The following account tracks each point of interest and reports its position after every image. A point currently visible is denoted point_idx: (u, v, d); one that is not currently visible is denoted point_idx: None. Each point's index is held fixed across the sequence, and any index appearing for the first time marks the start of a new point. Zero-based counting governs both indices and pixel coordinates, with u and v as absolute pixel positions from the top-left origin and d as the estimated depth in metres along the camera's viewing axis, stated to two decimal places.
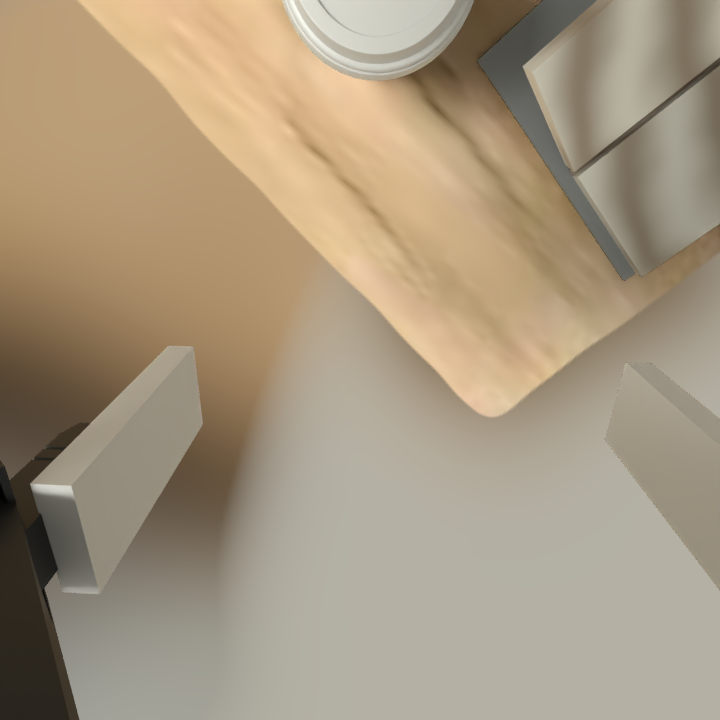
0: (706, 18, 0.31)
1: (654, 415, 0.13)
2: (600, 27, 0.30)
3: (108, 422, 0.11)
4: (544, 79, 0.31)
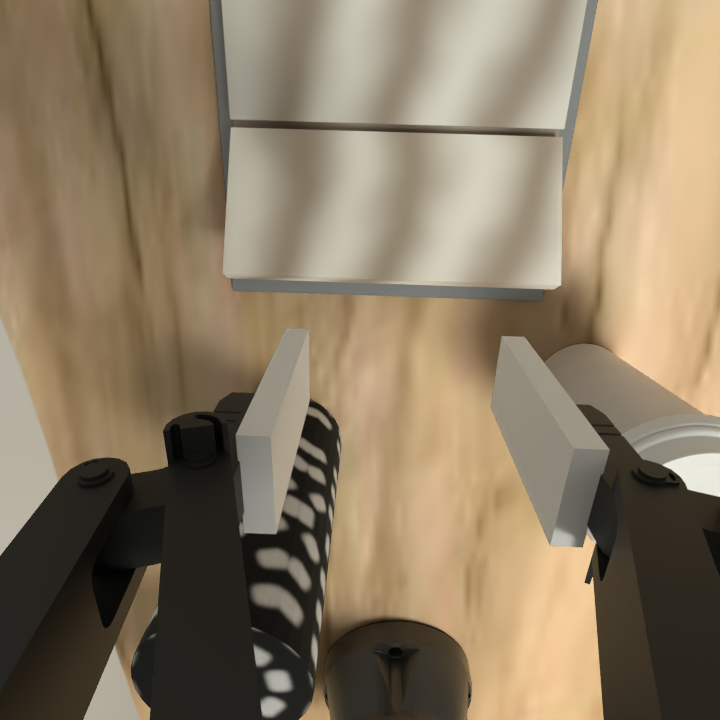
0: (383, 187, 0.29)
1: (514, 379, 0.15)
2: (484, 268, 0.29)
3: (271, 389, 0.12)
4: (553, 268, 0.29)
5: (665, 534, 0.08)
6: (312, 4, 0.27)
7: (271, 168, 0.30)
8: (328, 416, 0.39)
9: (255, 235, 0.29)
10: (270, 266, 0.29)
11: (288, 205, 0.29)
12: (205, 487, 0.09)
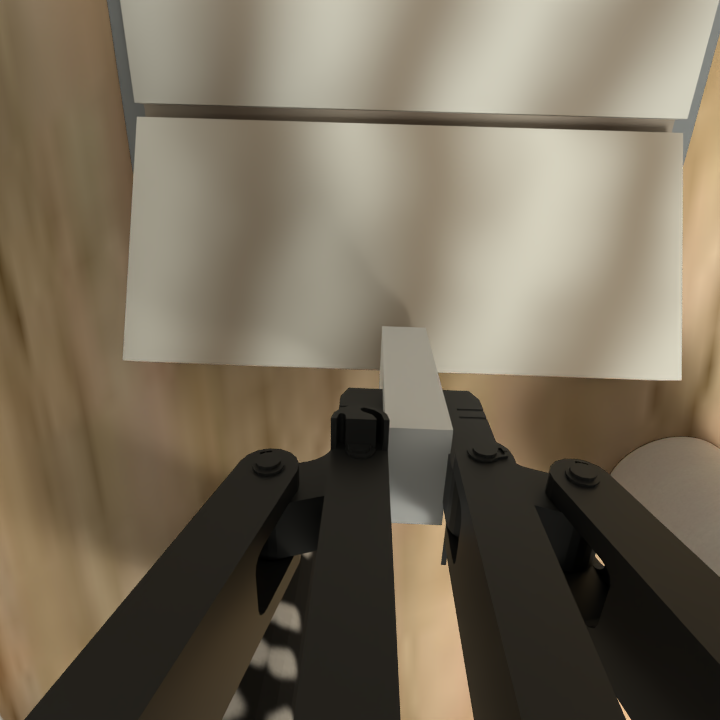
0: (387, 216, 0.18)
1: None
2: (555, 352, 0.18)
3: (397, 384, 0.13)
4: (667, 351, 0.18)
5: (501, 510, 0.09)
6: None
7: (203, 185, 0.18)
8: None
9: (177, 296, 0.18)
10: (201, 348, 0.18)
11: (231, 246, 0.18)
12: (362, 478, 0.09)
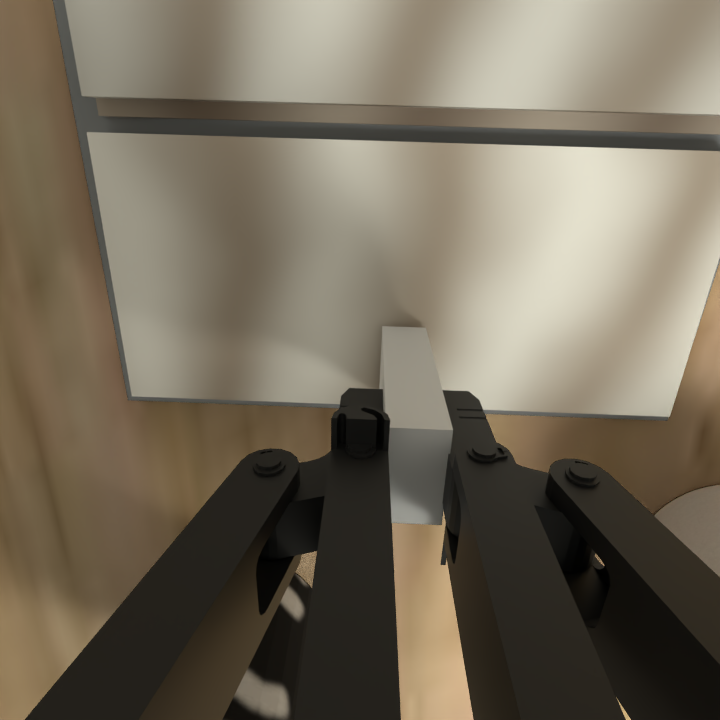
0: (388, 255, 0.16)
1: None
2: (551, 392, 0.18)
3: (398, 384, 0.13)
4: (663, 391, 0.18)
5: (501, 510, 0.09)
6: None
7: (180, 219, 0.16)
8: (299, 588, 0.24)
9: (173, 338, 0.18)
10: (205, 386, 0.18)
11: (221, 288, 0.17)
12: (363, 478, 0.09)
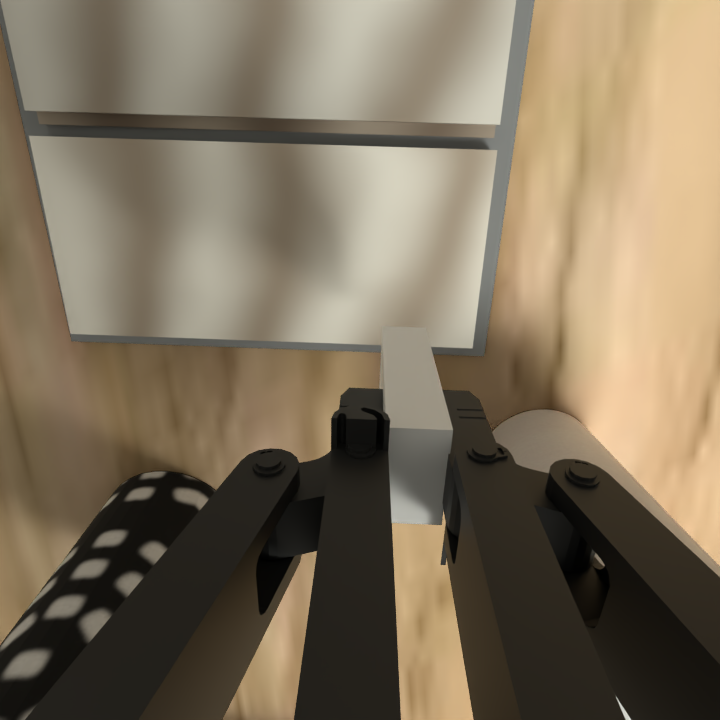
0: (250, 225, 0.22)
1: None
2: None
3: (398, 384, 0.13)
4: (464, 328, 0.24)
5: (501, 510, 0.09)
6: None
7: (99, 198, 0.22)
8: None
9: (98, 288, 0.24)
10: (125, 325, 0.24)
11: (131, 250, 0.23)
12: (363, 478, 0.09)
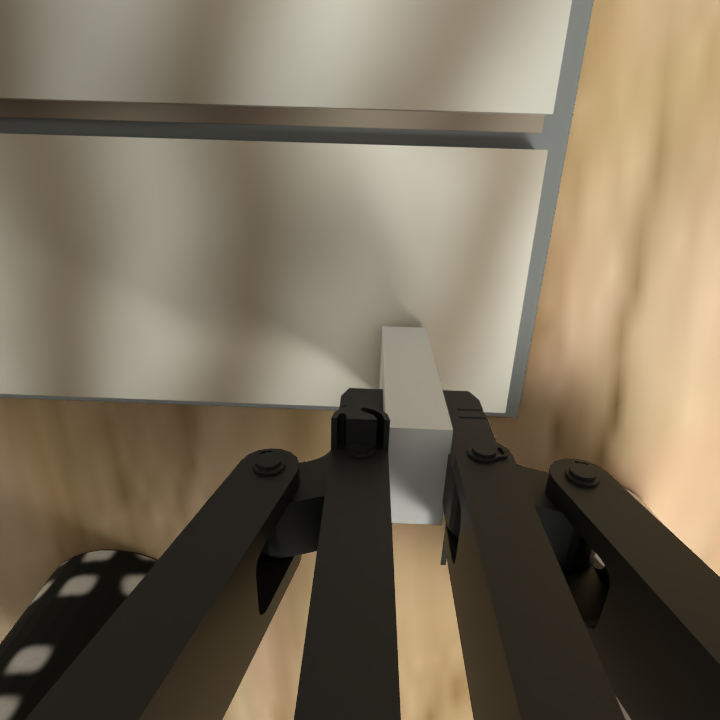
0: (206, 252, 0.16)
1: None
2: None
3: (398, 384, 0.13)
4: (495, 388, 0.18)
5: (501, 510, 0.09)
6: None
7: None
8: None
9: (6, 335, 0.18)
10: (45, 382, 0.18)
11: (46, 285, 0.17)
12: (363, 478, 0.09)
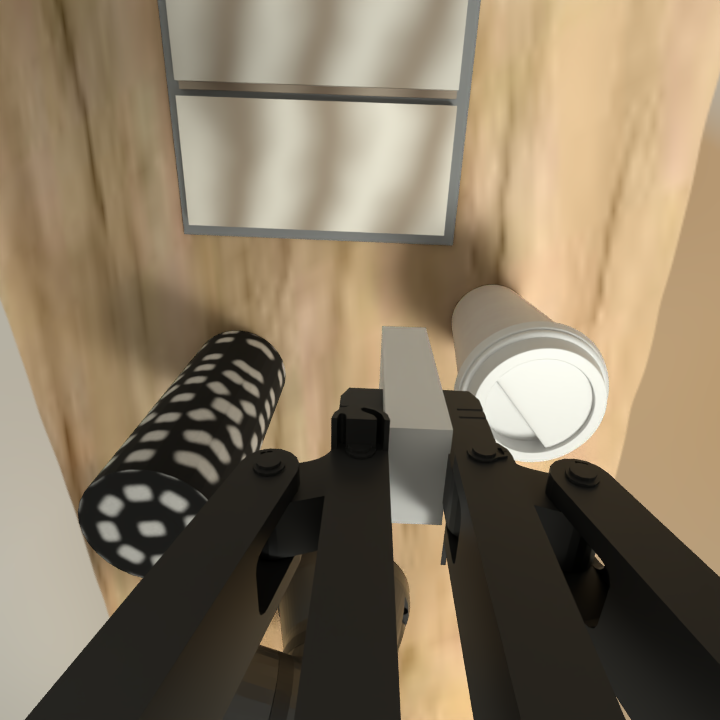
0: (306, 152, 0.36)
1: None
2: (386, 222, 0.38)
3: (398, 384, 0.13)
4: (438, 222, 0.38)
5: (501, 510, 0.09)
6: None
7: (214, 135, 0.36)
8: (272, 349, 0.44)
9: (209, 194, 0.38)
10: (224, 219, 0.38)
11: (232, 168, 0.37)
12: (363, 478, 0.09)
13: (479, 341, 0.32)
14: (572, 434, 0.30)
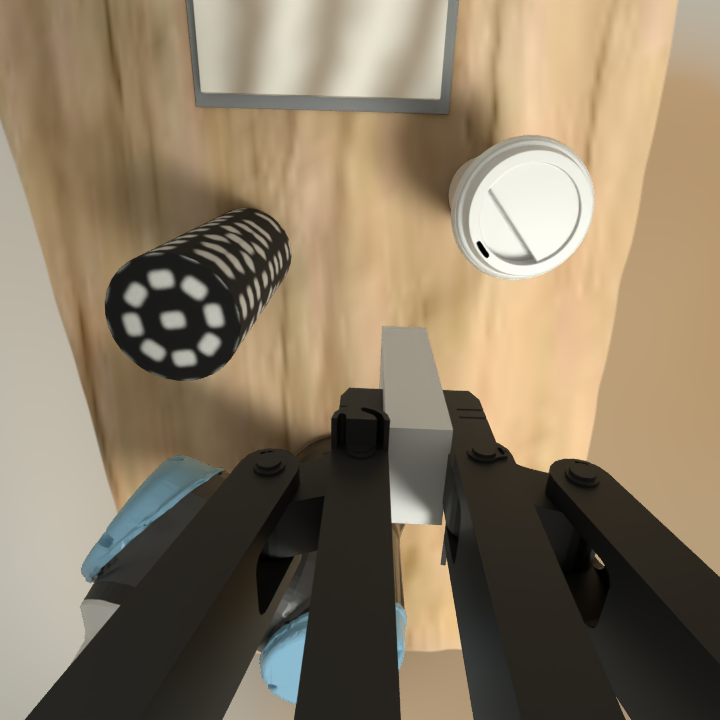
0: (311, 15, 0.39)
1: None
2: (386, 86, 0.41)
3: (398, 384, 0.13)
4: (435, 84, 0.41)
5: (501, 510, 0.09)
6: None
7: None
8: (279, 226, 0.47)
9: (220, 59, 0.40)
10: (234, 85, 0.41)
11: (242, 33, 0.40)
12: (363, 478, 0.09)
13: None
14: (561, 245, 0.33)
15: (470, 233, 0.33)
